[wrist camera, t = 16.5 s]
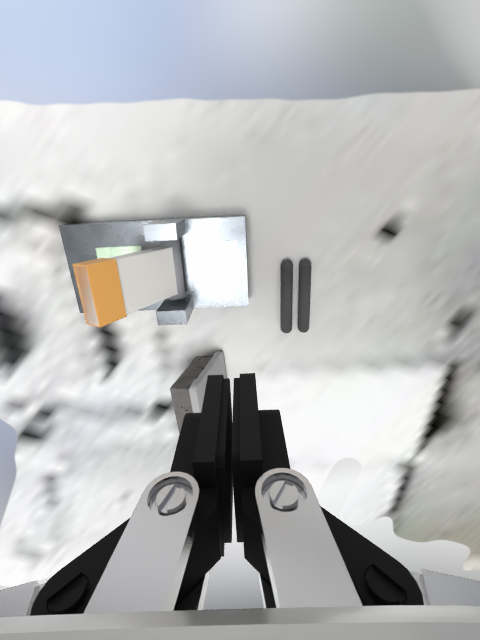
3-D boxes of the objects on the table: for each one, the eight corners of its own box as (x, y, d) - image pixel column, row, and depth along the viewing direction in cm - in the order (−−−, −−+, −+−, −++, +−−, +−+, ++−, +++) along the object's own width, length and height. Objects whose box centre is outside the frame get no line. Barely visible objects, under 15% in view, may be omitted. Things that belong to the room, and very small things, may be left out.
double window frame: (244, 215, 37) (245, 219, 29) (247, 298, 40) (249, 321, 33) (72, 223, 37) (30, 230, 29) (91, 304, 41) (57, 329, 33)
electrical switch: (231, 405, 46) (221, 454, 38) (196, 406, 47) (179, 454, 38) (223, 348, 43) (211, 386, 34) (186, 349, 44) (165, 388, 35)
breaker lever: (183, 239, 34) (85, 259, 24) (189, 295, 36) (102, 332, 27) (168, 238, 35) (69, 257, 25) (175, 293, 37) (87, 329, 28)
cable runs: (310, 257, 38) (312, 260, 37) (307, 329, 42) (309, 333, 41) (280, 259, 38) (281, 261, 37) (280, 330, 42) (281, 335, 41)
